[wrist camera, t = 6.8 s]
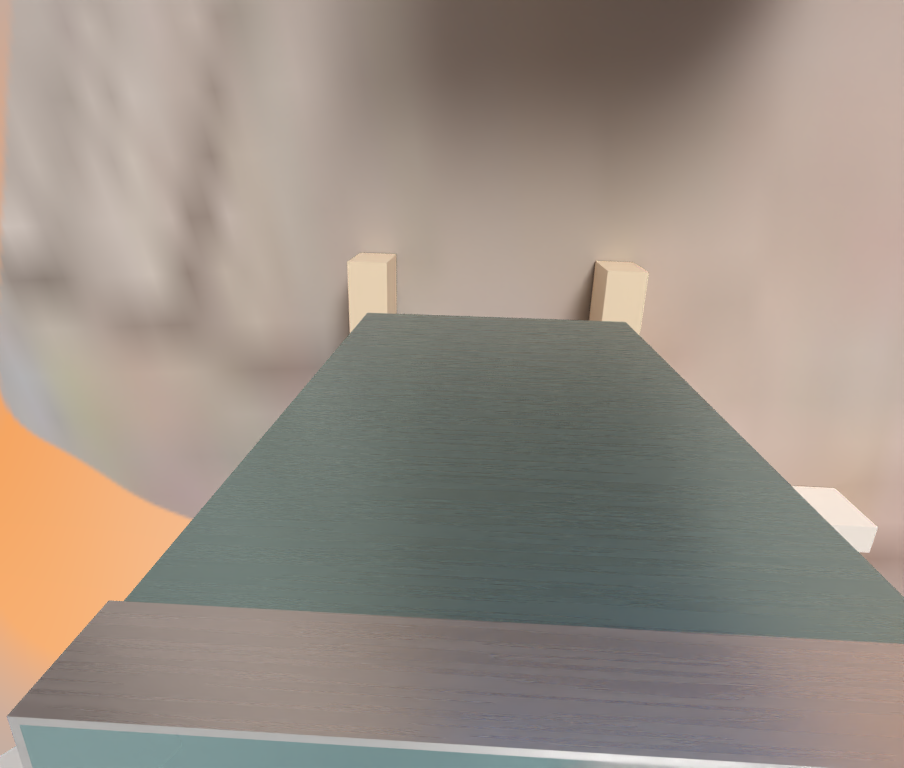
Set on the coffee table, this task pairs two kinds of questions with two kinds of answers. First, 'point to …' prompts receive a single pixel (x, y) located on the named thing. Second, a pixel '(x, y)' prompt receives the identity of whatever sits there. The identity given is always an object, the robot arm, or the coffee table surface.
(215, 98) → the coffee table surface
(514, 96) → the coffee table surface
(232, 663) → the tea tin
